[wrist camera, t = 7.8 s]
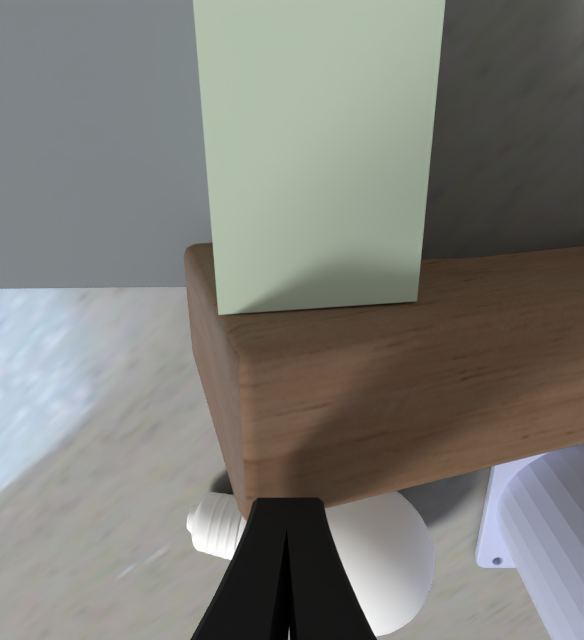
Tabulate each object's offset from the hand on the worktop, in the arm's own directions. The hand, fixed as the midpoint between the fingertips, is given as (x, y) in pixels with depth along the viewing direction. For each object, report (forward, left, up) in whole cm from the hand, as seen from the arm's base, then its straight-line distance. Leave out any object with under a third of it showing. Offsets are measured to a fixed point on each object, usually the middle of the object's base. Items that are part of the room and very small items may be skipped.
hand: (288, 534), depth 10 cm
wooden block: (+3, -2, -5) cm, 6 cm away
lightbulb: (+5, +9, -9) cm, 14 cm away
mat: (+8, -8, -10) cm, 15 cm away
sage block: (0, -8, -10) cm, 13 cm away
